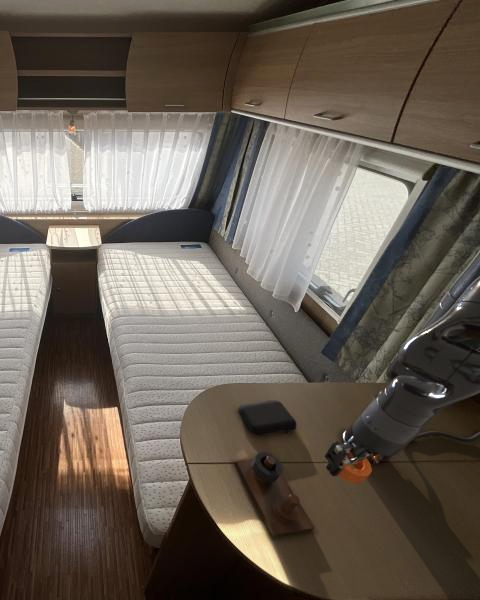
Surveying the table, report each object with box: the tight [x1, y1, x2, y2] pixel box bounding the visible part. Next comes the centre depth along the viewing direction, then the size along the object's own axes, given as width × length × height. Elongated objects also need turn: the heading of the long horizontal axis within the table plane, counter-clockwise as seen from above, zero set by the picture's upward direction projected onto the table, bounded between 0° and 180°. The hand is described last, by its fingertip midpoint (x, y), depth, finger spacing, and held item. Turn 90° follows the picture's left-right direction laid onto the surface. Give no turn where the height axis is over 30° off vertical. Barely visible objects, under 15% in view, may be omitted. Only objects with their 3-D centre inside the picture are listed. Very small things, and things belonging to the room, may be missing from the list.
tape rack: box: [234, 456, 316, 538], centre depth 81 cm, size 10×17×8 cm, turn 8°
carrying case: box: [237, 399, 297, 436], centre depth 99 cm, size 11×3×15 cm
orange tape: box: [337, 451, 373, 485], centre depth 70 cm, size 6×6×3 cm
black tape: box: [252, 451, 284, 482], centre depth 84 cm, size 6×6×3 cm
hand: (345, 469), depth 72 cm, fingers closed on orange tape, 6 cm apart
